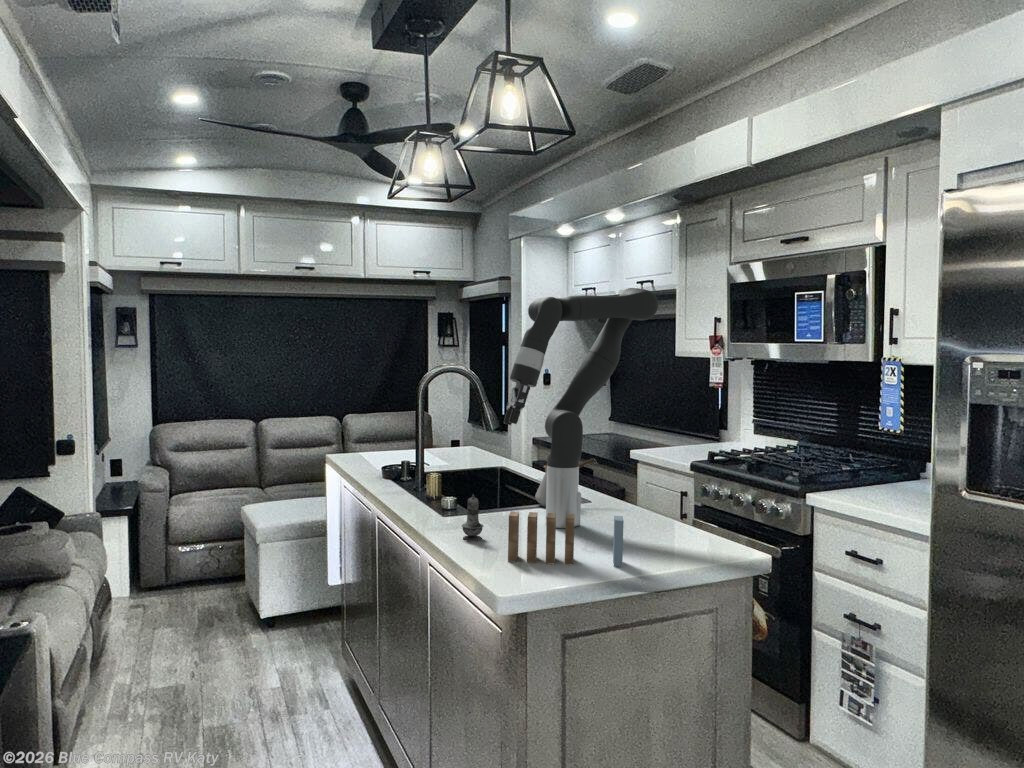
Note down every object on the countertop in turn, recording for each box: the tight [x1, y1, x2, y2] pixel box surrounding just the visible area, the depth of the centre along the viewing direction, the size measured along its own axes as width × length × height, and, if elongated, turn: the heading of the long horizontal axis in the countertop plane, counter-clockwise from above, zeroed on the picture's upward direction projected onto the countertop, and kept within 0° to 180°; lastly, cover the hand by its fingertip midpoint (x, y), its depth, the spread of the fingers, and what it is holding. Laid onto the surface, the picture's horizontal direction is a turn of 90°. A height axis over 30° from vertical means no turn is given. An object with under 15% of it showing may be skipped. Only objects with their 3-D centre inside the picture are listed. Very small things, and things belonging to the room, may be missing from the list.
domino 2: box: [526, 511, 539, 564], centre depth 178 cm, size 2×5×11 cm, turn 174°
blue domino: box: [612, 515, 625, 567], centre depth 176 cm, size 2×5×11 cm, turn 174°
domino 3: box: [545, 513, 557, 564], centre depth 178 cm, size 2×5×11 cm, turn 174°
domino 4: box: [564, 514, 575, 565], centre depth 177 cm, size 2×5×11 cm, turn 174°
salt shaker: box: [461, 493, 485, 542], centre depth 197 cm, size 6×6×12 cm
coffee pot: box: [534, 457, 598, 508], centre depth 244 cm, size 21×12×15 cm, turn 112°
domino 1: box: [507, 510, 520, 563], centre depth 179 cm, size 2×5×11 cm, turn 174°
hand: (509, 423), depth 199 cm, fingers open, 8 cm apart
